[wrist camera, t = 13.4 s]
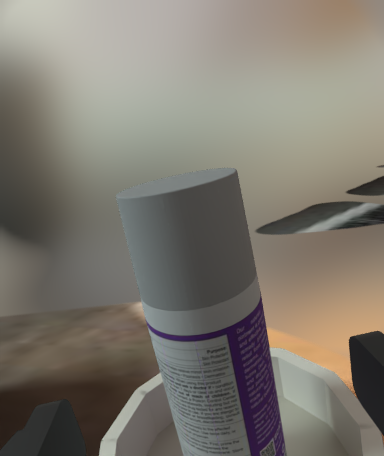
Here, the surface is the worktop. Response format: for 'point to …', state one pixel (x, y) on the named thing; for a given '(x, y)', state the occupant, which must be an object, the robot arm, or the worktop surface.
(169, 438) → the bowl
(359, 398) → the robot arm
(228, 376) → the container
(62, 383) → the worktop surface
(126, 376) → the worktop surface
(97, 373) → the worktop surface
